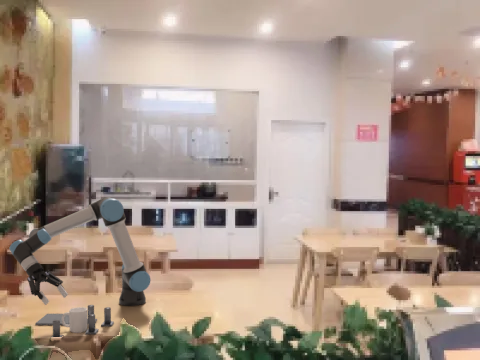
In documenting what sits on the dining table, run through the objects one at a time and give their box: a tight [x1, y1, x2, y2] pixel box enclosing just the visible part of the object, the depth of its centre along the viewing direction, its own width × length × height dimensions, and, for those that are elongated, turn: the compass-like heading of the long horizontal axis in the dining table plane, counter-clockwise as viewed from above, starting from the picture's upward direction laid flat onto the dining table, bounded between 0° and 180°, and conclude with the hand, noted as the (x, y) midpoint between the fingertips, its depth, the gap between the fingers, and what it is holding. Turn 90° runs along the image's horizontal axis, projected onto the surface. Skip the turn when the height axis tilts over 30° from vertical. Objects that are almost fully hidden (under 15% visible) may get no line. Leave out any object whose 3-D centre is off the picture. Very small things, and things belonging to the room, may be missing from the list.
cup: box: [62, 306, 88, 334], centre depth 248 cm, size 8×12×10 cm
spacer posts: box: [51, 304, 115, 337], centre depth 248 cm, size 23×29×8 cm
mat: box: [34, 313, 70, 326], centre depth 264 cm, size 20×16×1 cm
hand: (57, 299), depth 251 cm, fingers open, 13 cm apart
